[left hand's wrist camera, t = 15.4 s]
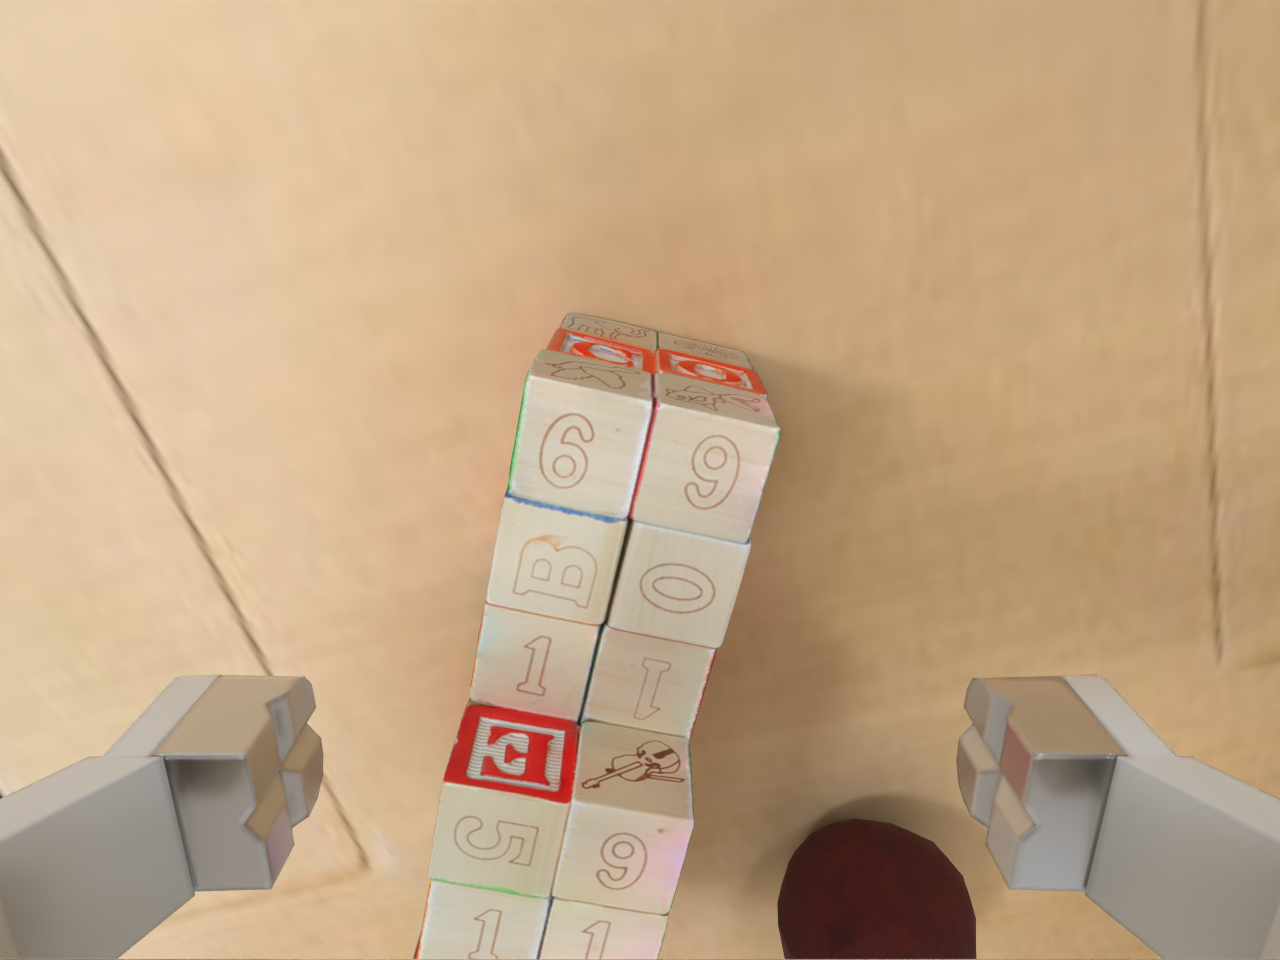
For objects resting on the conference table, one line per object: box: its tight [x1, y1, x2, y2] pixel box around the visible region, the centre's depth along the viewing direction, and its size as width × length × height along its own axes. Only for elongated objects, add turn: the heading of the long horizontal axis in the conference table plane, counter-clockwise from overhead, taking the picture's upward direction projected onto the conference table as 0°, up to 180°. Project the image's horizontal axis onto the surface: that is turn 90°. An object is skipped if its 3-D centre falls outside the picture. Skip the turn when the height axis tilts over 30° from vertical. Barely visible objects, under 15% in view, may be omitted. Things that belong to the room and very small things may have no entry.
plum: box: [778, 819, 976, 959], centre depth 32 cm, size 7×8×7 cm
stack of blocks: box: [413, 313, 780, 959], centre depth 26 cm, size 21×6×12 cm, turn 167°
